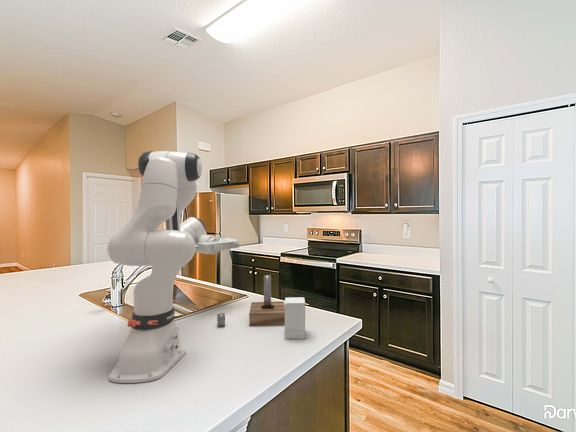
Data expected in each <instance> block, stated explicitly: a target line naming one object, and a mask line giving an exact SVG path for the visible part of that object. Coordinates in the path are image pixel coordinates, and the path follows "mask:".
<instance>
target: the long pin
mask: <svg viewBox="0 0 576 432" xmlns="http://www.w3.org/2000/svg"><path fill="white" fill-rule="evenodd" d="M263 302H264V309H271V302H272V274H264V275H263Z"/></svg>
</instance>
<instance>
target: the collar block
mask: <svg viewBox="0 0 576 432" xmlns="http://www.w3.org/2000/svg"><path fill="white" fill-rule="evenodd" d="M249 308H250V309H249V312H248V313H249V314H248V315H249V327H258V326H259V327H262V326H263V327H265V326H267V327H268V326H271V327H272V326H285V300H284V301H283V300H282V301H271V309H264V301H252V302H251V304H250V307H249Z"/></svg>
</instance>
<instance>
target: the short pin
mask: <svg viewBox="0 0 576 432" xmlns="http://www.w3.org/2000/svg"><path fill="white" fill-rule="evenodd" d="M216 321H217V323H216V327H217V328H225V327H226V313H224V312H221V313H217V314H216Z"/></svg>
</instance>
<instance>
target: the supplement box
mask: <svg viewBox="0 0 576 432" xmlns="http://www.w3.org/2000/svg"><path fill="white" fill-rule="evenodd" d="M284 306H285V325H284V339H287V340H288V339H291V340H292V339H293V340H294V339H295V340H298V339H299V340H301V339H302V340H303V339H306V300H305V297H301V296H300V297H299V296H298V297H295V296H294V297H285V298H284Z"/></svg>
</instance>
